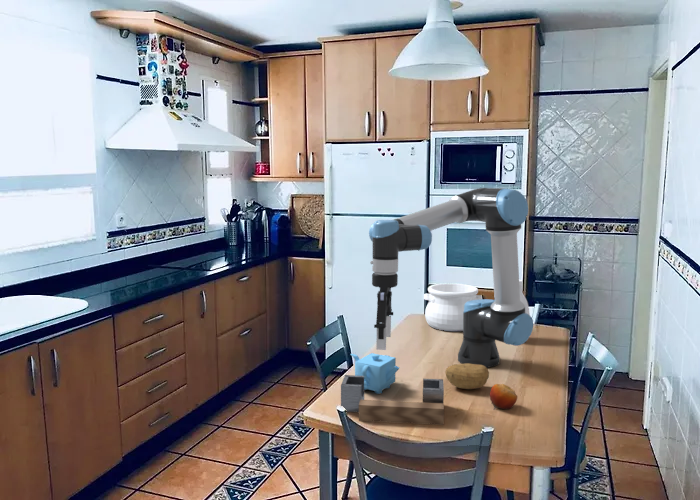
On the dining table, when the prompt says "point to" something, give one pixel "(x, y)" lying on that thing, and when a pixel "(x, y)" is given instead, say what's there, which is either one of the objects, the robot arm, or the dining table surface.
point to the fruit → (503, 396)
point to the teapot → (376, 371)
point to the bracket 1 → (352, 392)
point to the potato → (467, 375)
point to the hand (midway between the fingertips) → (383, 342)
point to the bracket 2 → (433, 391)
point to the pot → (448, 305)
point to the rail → (401, 412)
